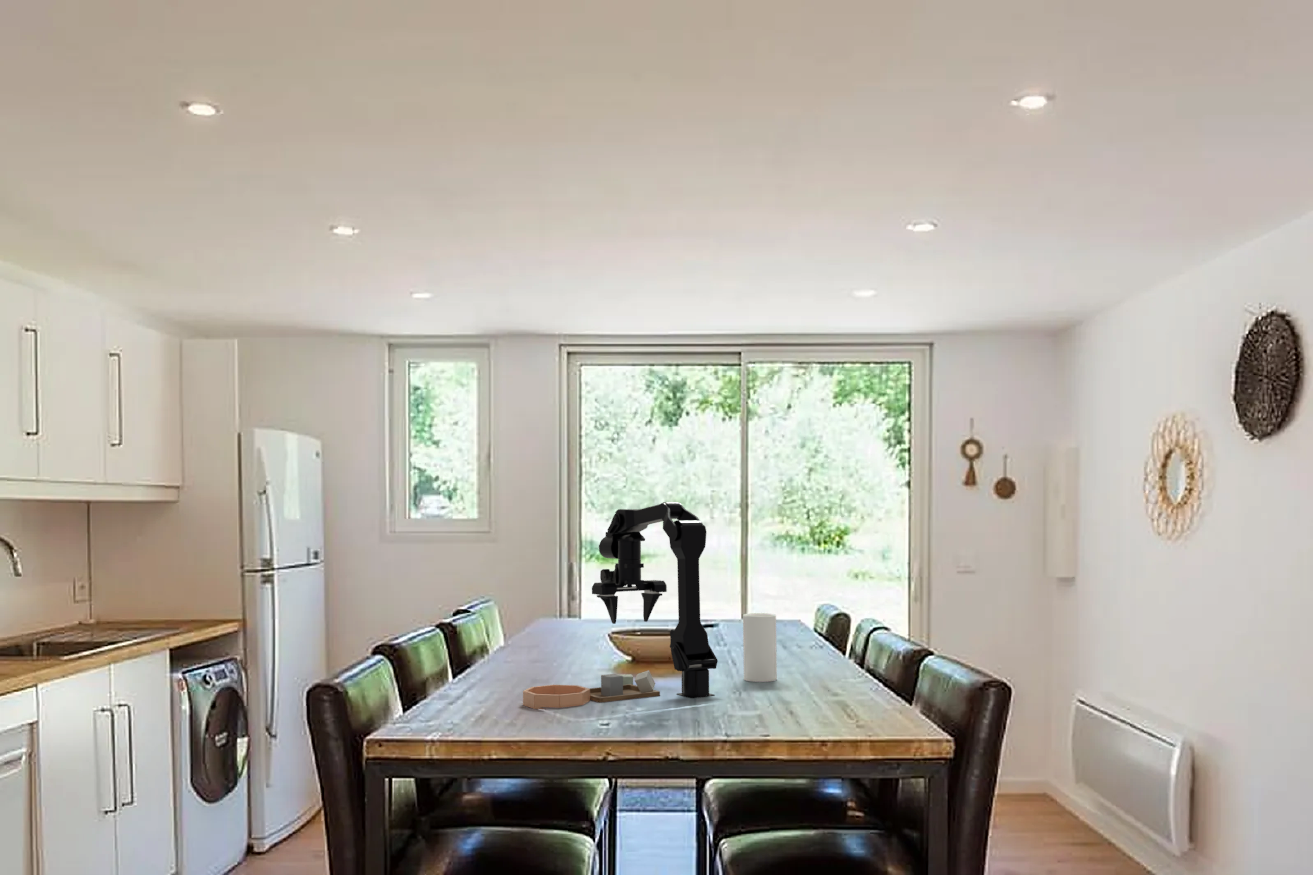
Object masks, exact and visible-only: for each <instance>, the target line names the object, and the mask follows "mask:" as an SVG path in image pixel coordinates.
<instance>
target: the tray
mask: <svg viewBox="0 0 1313 875" xmlns="http://www.w3.org/2000/svg"><path fill="white" fill-rule="evenodd" d="M589 689H590V701H593V702H596V703H607V702H616V701H625V700H627V701H628V700H633V699H643V698H652V697H660V696H661V690H660V691H659V690H655V689H653V690H652V691H649V692H644V693H641V692H640V690H639V688H638V686H637V684H633V685H632V684H627V685H623V695H617V696H608V697H607V696H604V695H601V686H600V687H591V688H589Z"/></svg>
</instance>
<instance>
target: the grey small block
mask: <svg viewBox="0 0 1313 875" xmlns="http://www.w3.org/2000/svg"><path fill="white" fill-rule="evenodd" d="M634 682H635V685H636V686H638V688H639V690H640V692H641V693H644V692H649V691H652V690H655V689H654V688H655V686H656V682H655V680H654V677H653V676H652V674H651V671H650V670H649V669H648V670H645V671H643V672H639V673H637V674H636V676H635V679H634Z"/></svg>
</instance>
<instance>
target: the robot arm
mask: <svg viewBox="0 0 1313 875" xmlns="http://www.w3.org/2000/svg"><path fill="white" fill-rule="evenodd" d="M673 520H674V521H673ZM660 522H662V530H663V531H664V533H665V534H666V535H667V537H668V538H669V547H670V549H671V552H672V553H673V555H674V556H675V557H676V560H677V561H676V562H677V597H678V598H677V603H678V604H677V607H678V610H677V611H678V622H677V625H676V627H675V628H674V629H673V628H672V629H670V630H669V631H670V632H669V637H670V638H669V639H670V641H669V642H670V644H669V648H670V653H671V659H672V663H673V668H674V670H675V671H678V672H681V692H678V693H676V695H677V696H681V697H684V698H685V697H686V698H689V699H699V698H706V697H715V696H716V694H713V693H710V670H712V669H714V670H715V669H717V667H718V658H717V656H716V655H715V653H714V651H713V649H712V647H711V645H710V644H709V637H708V632H707V631H706V629H705V627H704V625H703V624H702V622H701V595H700V594H701V593H700V592H701V591H700V589H701V588H700V557H701V556H702V554H703V552H704V550H705V548H706V541H707V528H706V526H705V525H704V524H703V522H702V521H701V520H700V519H699V517H698V516H697V515H696V514H694V513H692V512H691V511H689V510H688V509H686V508H685V507H684V505H683V504H682V503H680V502H677V501H664V502H661V503H660V504H659V503H658V504H655V505H652V506H648V507H644V508H639V509H638V508H631V509H629V508H619V509H617V510H616V511H615V514H614V515H613V516H612V520H611V522H610V524H609V526H608V528H607V531H605V536H604V537H602V539H601V540H600V542H599V544H598V551H599V553H600V555H601V556H602V557H603V558H605V559H613V560H614V559H616V560H617V563H614V564H615V565H614V570H610V569H609V568H603V569H601V570H600V576H599V577H600V582H594V583H593V585H592V587H591V594H592V595H596V598H599V599H601V600H602V602H603V603H604V605H605V607H606V610H607V613H608V616H609V618H610V622H611V623H612V625H615V624H616V622H617V616H618V605H619V604H618V600H619V597H618V595H615V594H616V593H622V592H639V591H640V594H641V596H642V599H643V606H642V607H643V610H642V611H643V622H646V623H647V622H648V621H649V618H650V616H651V613H652V611H653V609H654V607H655V605H656V604H657V601H658V600H659V599H660V597H662V596H663V593H667V592H668V589H667V588H668V587H667V583H666V582H665V580H661V579H660V580H659V579H649V580H647V579H646V580H645V579H644V580H643V579H642V569H643V568H645V566H644V563H642V545H641V544H642V542H646V538H645V537H644V536H643V535H642V534H641V532H642V531H644V530H646V529H648V526H649V525H652V524H656V523H660ZM642 591H643V592H642Z"/></svg>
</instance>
